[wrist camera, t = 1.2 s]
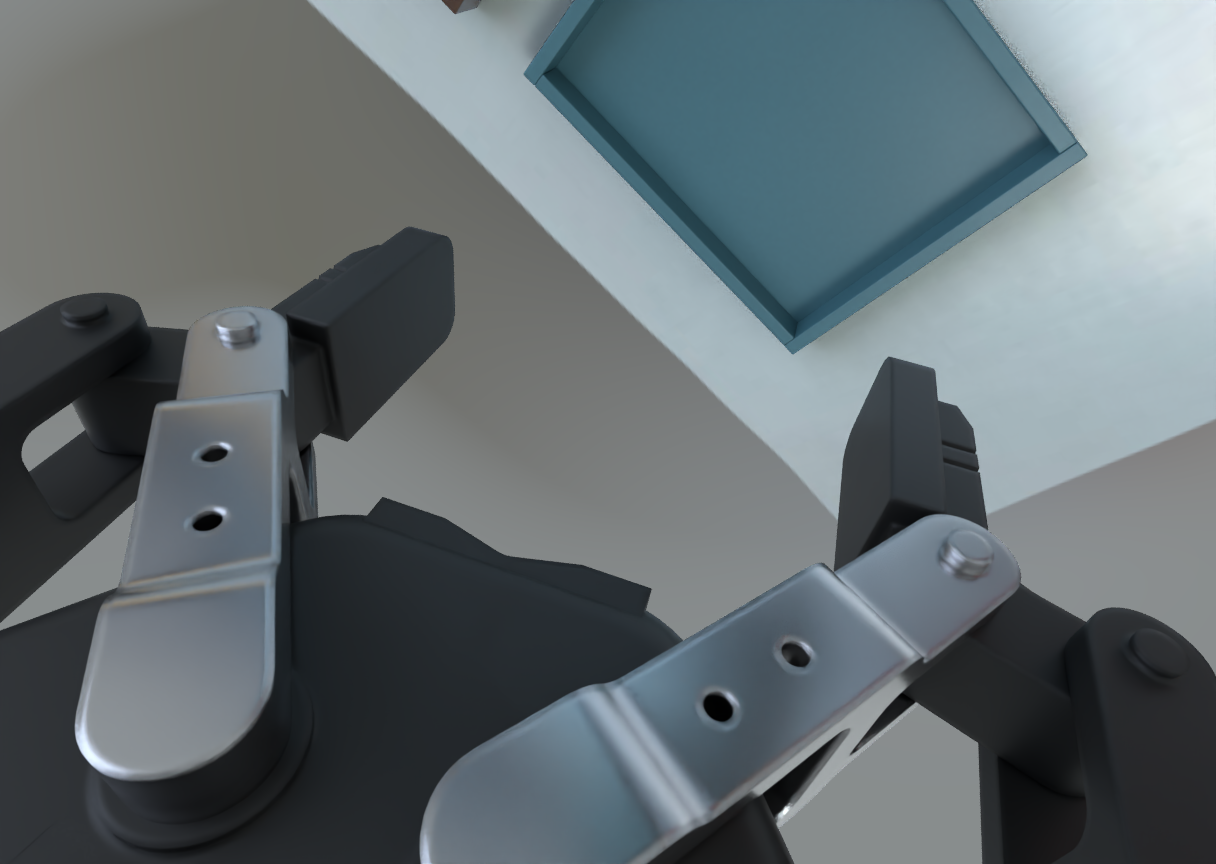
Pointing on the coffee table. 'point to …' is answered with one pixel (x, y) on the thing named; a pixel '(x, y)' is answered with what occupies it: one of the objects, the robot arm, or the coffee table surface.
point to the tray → (807, 136)
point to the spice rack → (461, 5)
